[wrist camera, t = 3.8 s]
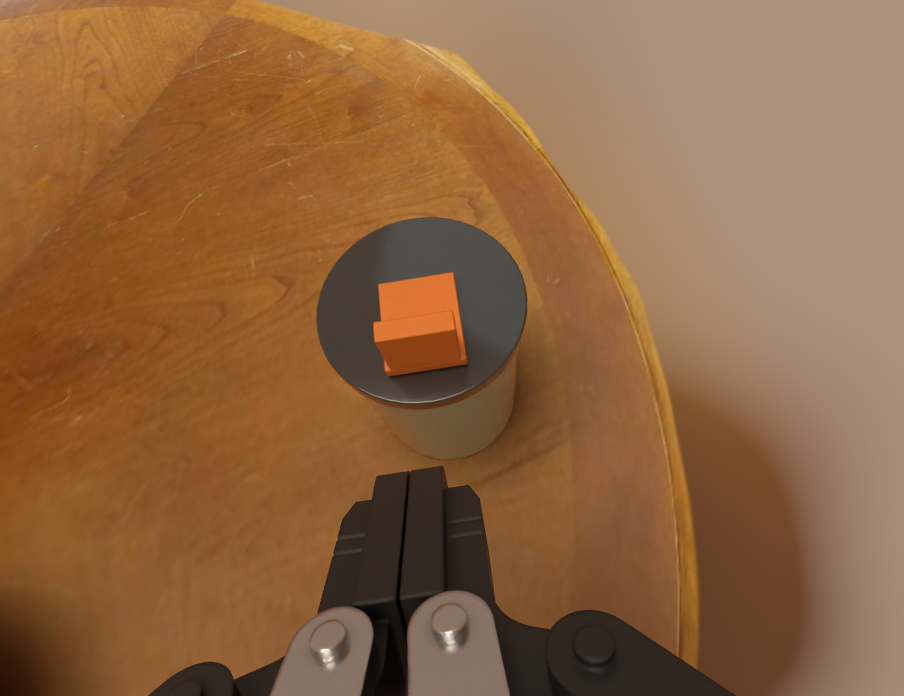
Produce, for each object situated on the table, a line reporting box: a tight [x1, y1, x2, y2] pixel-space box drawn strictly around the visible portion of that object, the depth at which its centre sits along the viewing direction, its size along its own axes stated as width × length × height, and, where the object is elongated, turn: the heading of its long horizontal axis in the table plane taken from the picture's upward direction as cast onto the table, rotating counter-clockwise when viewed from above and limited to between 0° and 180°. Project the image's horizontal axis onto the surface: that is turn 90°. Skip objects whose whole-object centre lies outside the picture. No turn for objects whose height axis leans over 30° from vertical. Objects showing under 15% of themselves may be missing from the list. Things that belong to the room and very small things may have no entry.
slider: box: [373, 272, 468, 376], centre depth 19 cm, size 4×3×3 cm
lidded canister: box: [316, 217, 527, 460], centre depth 27 cm, size 9×9×12 cm
